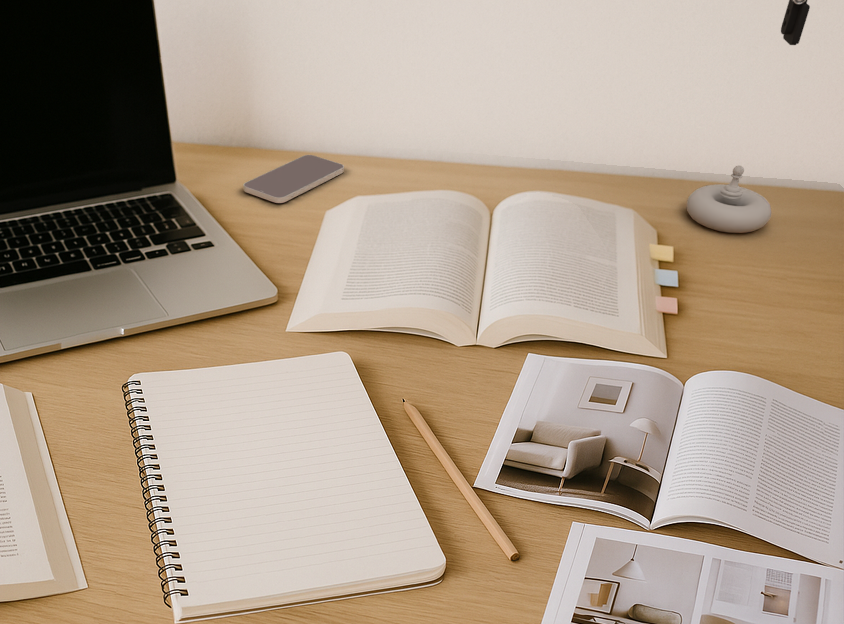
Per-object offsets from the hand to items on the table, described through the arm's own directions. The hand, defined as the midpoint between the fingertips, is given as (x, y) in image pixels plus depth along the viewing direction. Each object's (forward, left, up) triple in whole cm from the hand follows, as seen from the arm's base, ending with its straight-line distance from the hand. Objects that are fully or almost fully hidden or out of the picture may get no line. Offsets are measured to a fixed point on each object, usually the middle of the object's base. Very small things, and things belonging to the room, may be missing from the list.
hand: (840, 42), depth 87 cm
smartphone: (+60, -11, -25) cm, 66 cm away
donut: (+3, -8, -25) cm, 26 cm away
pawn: (+3, -8, -21) cm, 23 cm away
